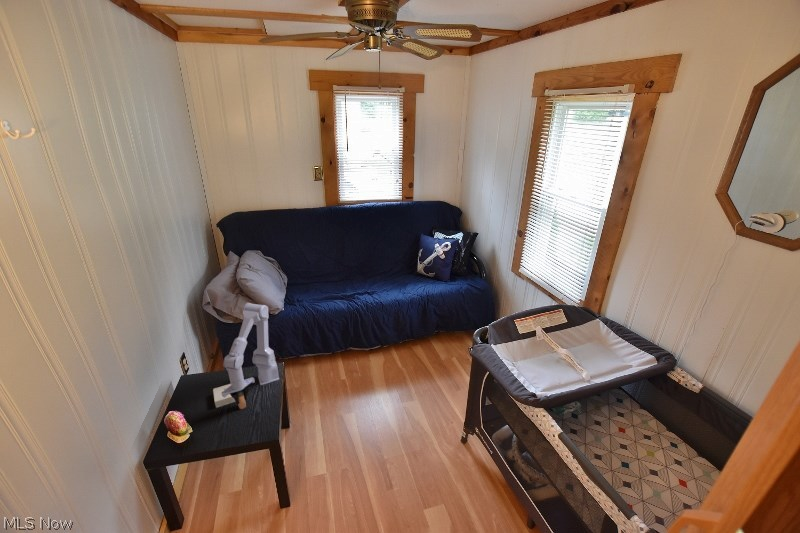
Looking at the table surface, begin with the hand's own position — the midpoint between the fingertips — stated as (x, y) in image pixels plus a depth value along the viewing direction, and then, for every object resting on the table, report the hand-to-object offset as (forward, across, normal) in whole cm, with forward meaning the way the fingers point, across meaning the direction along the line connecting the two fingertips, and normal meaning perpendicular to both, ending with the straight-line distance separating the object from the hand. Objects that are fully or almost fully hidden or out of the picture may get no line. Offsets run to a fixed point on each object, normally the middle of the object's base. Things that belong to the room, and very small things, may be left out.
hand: (241, 400), depth 172 cm
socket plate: (+3, +1, -11) cm, 11 cm away
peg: (+3, 0, 0) cm, 3 cm away
